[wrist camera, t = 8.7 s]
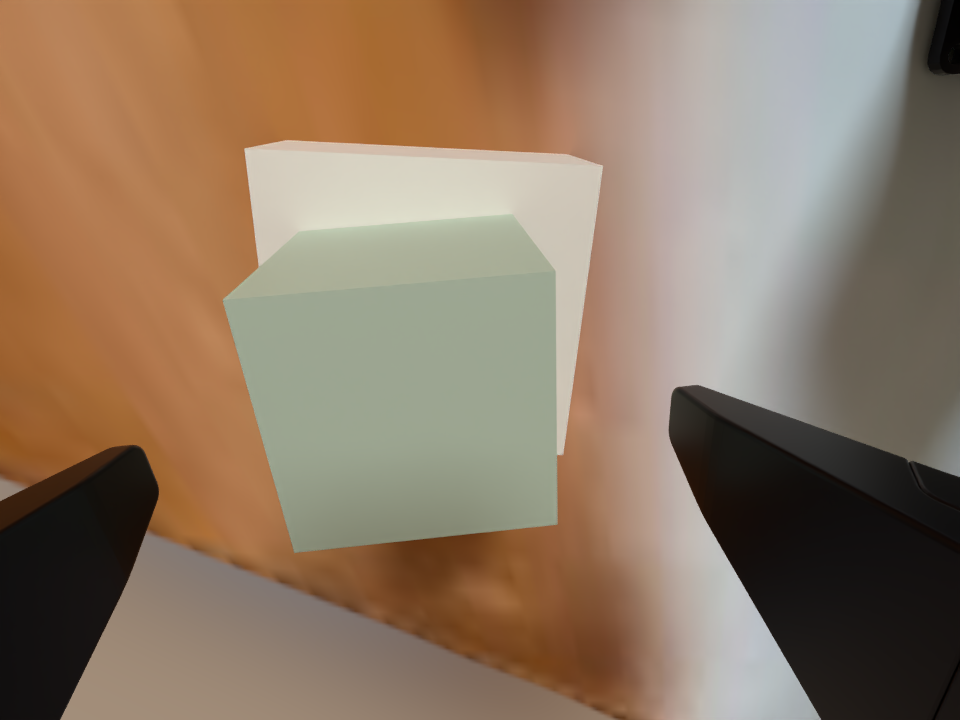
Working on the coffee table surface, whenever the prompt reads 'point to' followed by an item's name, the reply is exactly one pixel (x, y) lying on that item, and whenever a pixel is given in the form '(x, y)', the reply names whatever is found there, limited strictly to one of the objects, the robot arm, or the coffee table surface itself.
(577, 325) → the base block
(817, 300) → the coffee table surface
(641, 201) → the coffee table surface
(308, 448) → the green cube
